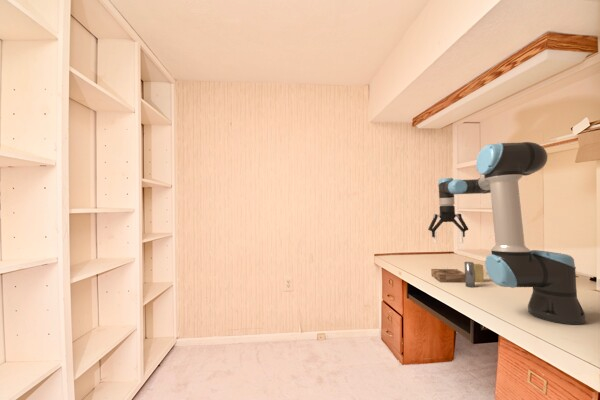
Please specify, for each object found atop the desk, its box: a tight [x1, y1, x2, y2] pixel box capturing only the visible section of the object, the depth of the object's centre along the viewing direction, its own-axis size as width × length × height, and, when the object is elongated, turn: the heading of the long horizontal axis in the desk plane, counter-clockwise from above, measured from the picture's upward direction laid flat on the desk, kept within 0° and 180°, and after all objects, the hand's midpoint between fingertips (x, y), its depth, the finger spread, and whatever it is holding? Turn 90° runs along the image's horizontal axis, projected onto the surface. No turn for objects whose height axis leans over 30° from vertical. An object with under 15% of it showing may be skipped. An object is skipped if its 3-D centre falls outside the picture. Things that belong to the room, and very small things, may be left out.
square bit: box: [474, 263, 485, 283], centre depth 143 cm, size 4×4×9 cm
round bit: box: [464, 261, 476, 289], centre depth 134 cm, size 4×4×12 cm
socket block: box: [430, 268, 466, 284], centre depth 149 cm, size 14×14×4 cm
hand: (448, 243), depth 150 cm, fingers open, 13 cm apart
